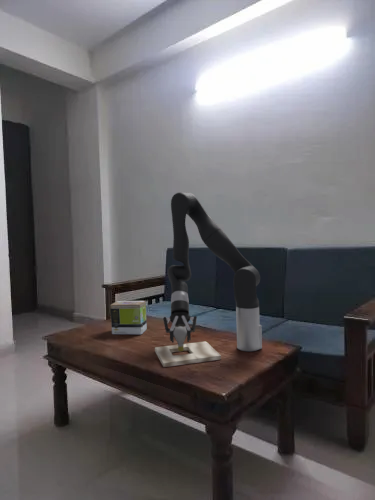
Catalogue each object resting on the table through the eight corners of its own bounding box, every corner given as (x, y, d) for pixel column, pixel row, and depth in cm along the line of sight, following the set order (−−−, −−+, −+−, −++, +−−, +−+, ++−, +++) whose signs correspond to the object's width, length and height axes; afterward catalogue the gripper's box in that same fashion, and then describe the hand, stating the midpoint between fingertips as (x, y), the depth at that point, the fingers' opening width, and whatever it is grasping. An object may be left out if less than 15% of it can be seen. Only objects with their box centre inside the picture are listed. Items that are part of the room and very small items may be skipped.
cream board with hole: (206, 344, 152) (205, 341, 152) (220, 359, 135) (220, 355, 135) (155, 351, 146) (154, 347, 146) (163, 367, 129) (163, 363, 129)
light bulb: (176, 348, 145) (175, 324, 144) (189, 349, 143) (188, 324, 142) (172, 353, 139) (171, 328, 139) (185, 354, 138) (184, 328, 137)
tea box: (147, 329, 179) (146, 300, 178) (141, 335, 169) (139, 304, 168) (118, 328, 182) (117, 300, 181) (111, 334, 172) (109, 304, 171)
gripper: (162, 299, 147) (161, 337, 136) (196, 298, 147) (198, 336, 136) (163, 309, 153) (162, 346, 142) (197, 308, 153) (198, 345, 142)
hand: (180, 341), depth 139 cm, fingers closed on light bulb, 5 cm apart
